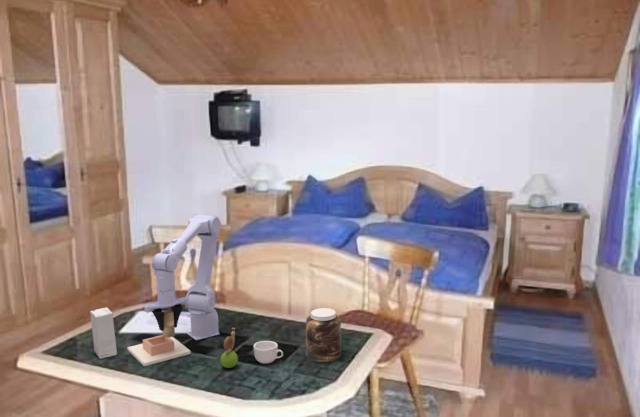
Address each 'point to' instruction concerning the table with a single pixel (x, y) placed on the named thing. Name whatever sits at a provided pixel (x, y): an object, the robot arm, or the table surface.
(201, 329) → the robot arm
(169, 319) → the maple peg
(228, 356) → the snail figurine
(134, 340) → the table surface
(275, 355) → the teacup
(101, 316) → the skincare box
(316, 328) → the jar
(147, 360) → the socket board
